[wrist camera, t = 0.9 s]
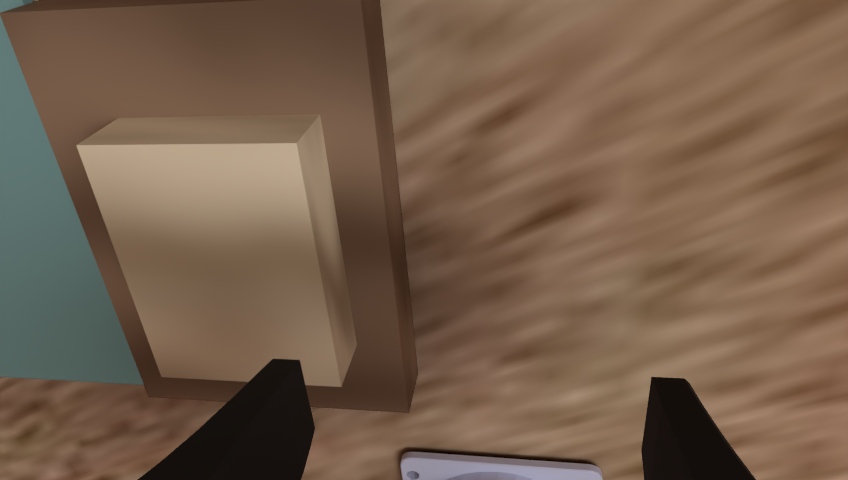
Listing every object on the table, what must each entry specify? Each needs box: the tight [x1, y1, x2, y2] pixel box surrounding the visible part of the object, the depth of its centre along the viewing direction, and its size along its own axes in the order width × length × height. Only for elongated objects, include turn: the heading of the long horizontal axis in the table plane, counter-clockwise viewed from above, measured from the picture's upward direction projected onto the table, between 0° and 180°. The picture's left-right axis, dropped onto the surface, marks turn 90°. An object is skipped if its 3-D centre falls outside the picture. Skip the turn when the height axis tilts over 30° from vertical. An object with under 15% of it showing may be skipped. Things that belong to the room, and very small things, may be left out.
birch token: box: [76, 114, 357, 387], centre depth 19 cm, size 8×6×2 cm
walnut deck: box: [0, 0, 418, 413], centre depth 21 cm, size 14×10×2 cm
